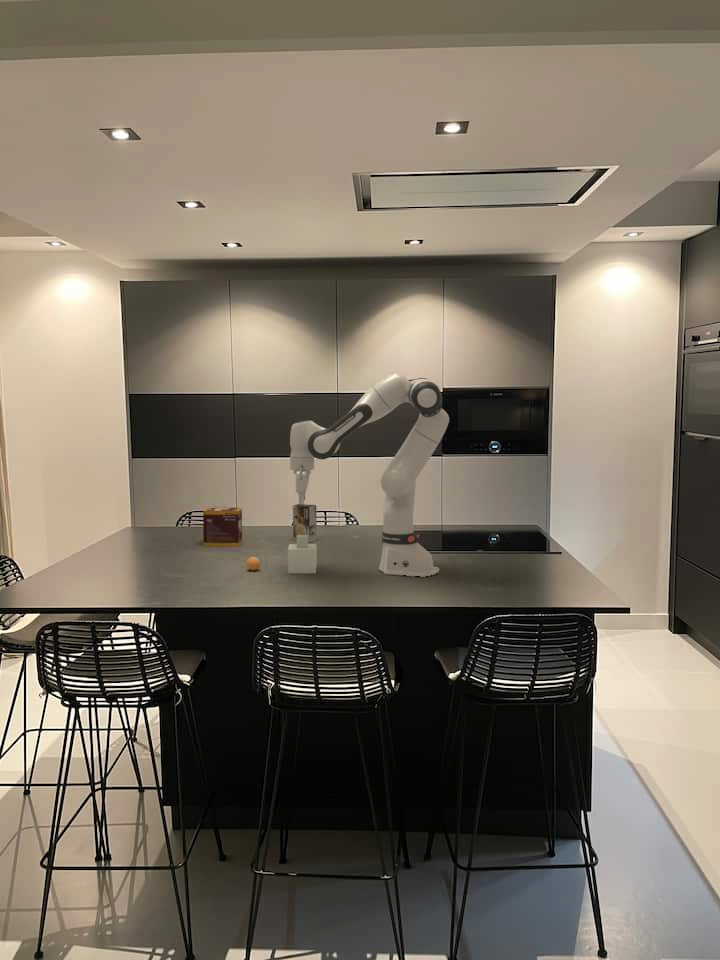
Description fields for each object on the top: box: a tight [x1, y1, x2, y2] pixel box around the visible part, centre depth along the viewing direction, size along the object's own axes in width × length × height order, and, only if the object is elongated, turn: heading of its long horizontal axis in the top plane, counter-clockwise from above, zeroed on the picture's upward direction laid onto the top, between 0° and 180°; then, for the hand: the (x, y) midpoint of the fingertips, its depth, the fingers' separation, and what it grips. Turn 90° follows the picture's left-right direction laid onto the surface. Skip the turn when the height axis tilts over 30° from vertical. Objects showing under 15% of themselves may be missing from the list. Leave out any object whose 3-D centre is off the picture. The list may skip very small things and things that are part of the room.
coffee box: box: [292, 503, 318, 543], centre depth 333 cm, size 9×6×16 cm
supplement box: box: [202, 506, 243, 547], centre depth 324 cm, size 10×15×16 cm
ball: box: [246, 556, 261, 572], centre depth 274 cm, size 5×5×5 cm
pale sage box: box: [287, 535, 318, 574], centre depth 275 cm, size 10×10×13 cm
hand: (302, 502), depth 273 cm, fingers open, 8 cm apart
